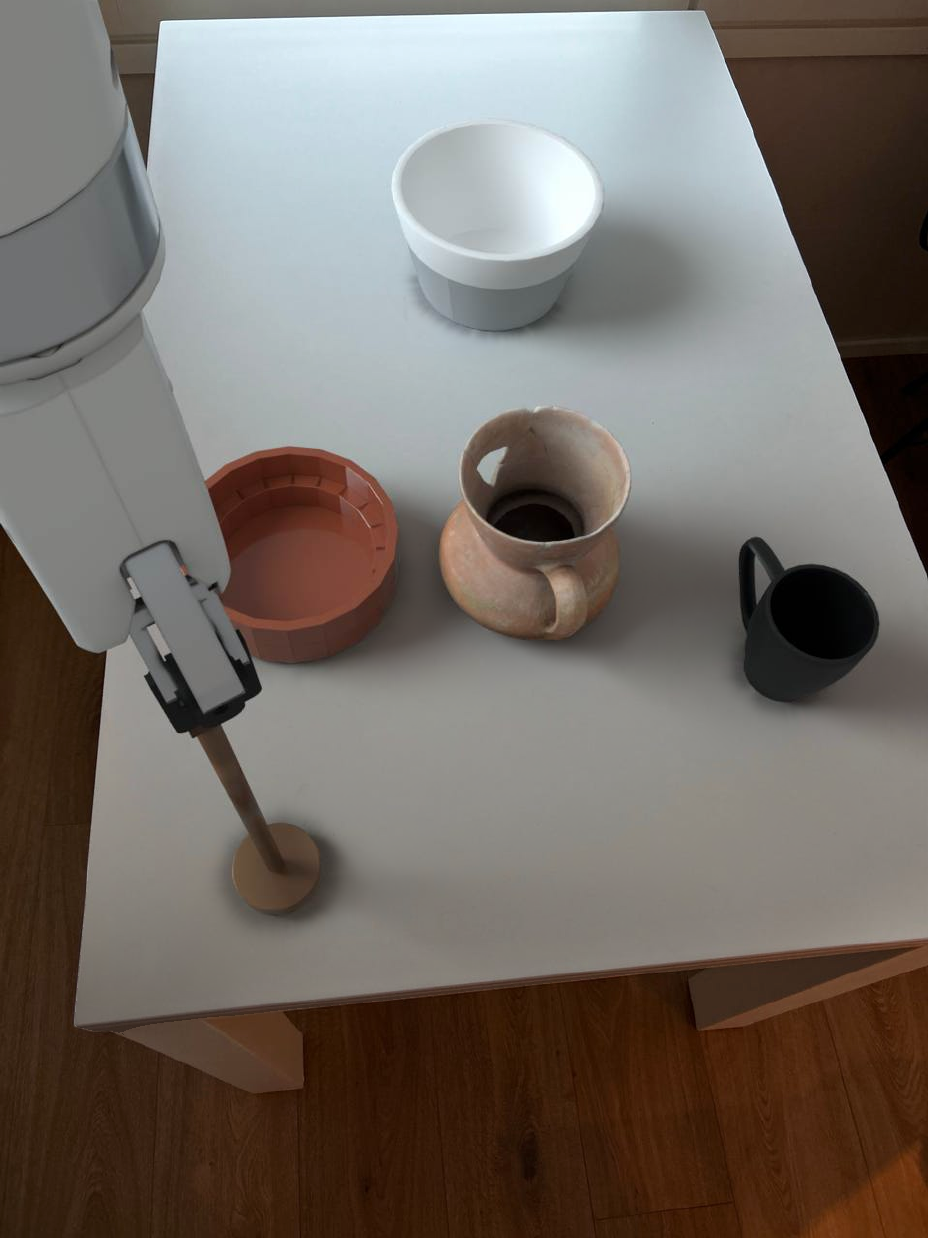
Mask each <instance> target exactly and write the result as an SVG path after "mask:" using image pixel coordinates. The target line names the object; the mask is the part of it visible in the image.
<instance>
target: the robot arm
mask: <svg viewBox="0 0 928 1238" xmlns="http://www.w3.org/2000/svg"><path fill="white" fill-rule="evenodd" d="M157 206H158V205H157V204H156V200H155V196H154V192H153V189H152V186H151V182H150V178H149V175H148V172H147V168H146V165H145V162H144V158H143V154H142V151H141V147H140V143H139V140H138V137H137V133H136V130H135V126H134V123H133V118H132V116H131V112H130V108H129V105H128V101H127V98H126V95H125V93H124V89H123V85H122V82H121V77H120V74H119V69H118V66H117V62H116V58H115V55H114V51H113V48H112V44H111V41H110V37H109V34H108V31H107V28H106V25H105V21H104V18H103V14H102V11H101V7H100V4H99V1H98V0H0V525H1V526H2V528H3V529H4V531H5V532H6V534H7V536H8V537H9V539H10V540H11V542H12V544H13V545H14V547H15V548H16V550H17V551H18V552H19V554H20V556H21V557H22V559H23V561H24V562H25V564H26V566H28V568H29V570H30V571H31V573H32V574H33V576H34V577H35V579H36V581H37V582H38V584H39V586H40V587H41V588H42V591H43V592H44V593H45V595H46V597H47V598H48V600H49V601H50V603H51V605H52V606H53V608H54V609H55V611H56V613H57V615H58V616H59V618H60V619H61V621H62V623H63V624H64V626H65V628H66V629H67V631H68V632H69V634H70V636H71V637H72V639H73V641H74V642H75V644H76V646H78V647H79V648H81V649H82V650H85V651H88V652H90V653H94V654H95V653H96V654H100V653H103V652H106V651H108V650H110V649H113V648H116V647H118V646H120V645H124V644H125V643H126V642H127V641H128V639H129V637H130V639H131V640H132V643H133V644H134V646H135V647H136V649H137V652H138V653H139V655H140V656H141V659H142V661H143V662H144V664H145V666H146V668H147V670H148V672H147V673H146V674H144V675H143V678H144V680H145V681H146V683H147V685H148V688H149V689H150V691H151V693H152V694H153V696H154V697H155V699H156V701H157V702H158V704H159V706H160V707H161V709H162V711H163V713H164V714H165V716H166V718H167V719H168V721H169V723H170V724H171V726H172V728H173V729H174V731H175V732H176V733H177V734H181V735H182V734H185V733H189V732H188V731H190V730H192V729H194V728H196V727H198V726H200V725H201V727H203V728H213V727H216V726H218V725H222V724H225V723H226V722H228V721H230V720H232V719H234V718H236V717H238V715H240V714H241V713H242V712H243V711H244V709H245V707H246V703H247V701H250V700H252V699H253V698H256V697H257V696H259V694H260V693H261V692H262V690H263V687H262V683H261V681H260V677H259V675H258V672H257V669H256V666H255V664H254V661H253V658H252V656H251V655H250V652H249V649H248V647H247V644H246V641H245V639H244V637H243V636H242V634H241V632H240V630H239V629H237V630H235V629H234V627H233V625H232V623H231V621H230V619H229V617H228V615H227V613H226V611H225V609H224V607H223V605H222V603H221V601H220V599H219V597H218V595H217V593H216V591H215V589H217V590H218V591H219V593H220V594H222V593H223V592H224V590H225V589H226V586H227V584H228V581H229V578H230V573H231V568H230V562H229V557H228V553H227V549H226V546H225V542H224V539H223V535H222V532H221V529H220V526H219V522H218V519H217V516H216V513H215V510H214V507H213V504H212V501H211V498H210V495H209V492H208V489H207V486H206V483H205V478H204V474H203V471H202V469H201V466H200V463H199V460H198V457H197V455H196V451H195V449H194V447H193V444H192V441H191V438H190V435H189V432H188V429H187V427H186V424H185V421H184V419H183V416H182V413H181V411H180V408H179V405H178V403H177V399H176V397H175V394H174V386H173V384H172V383H173V382H172V381H171V379H170V378H169V377H168V375H167V372H166V369H165V367H164V363H163V361H162V359H161V356H160V354H159V350H158V348H157V345H156V343H155V340H154V337H153V333H152V332H151V330H150V326H149V324H148V321H147V319H146V315H145V314H144V311H143V309H144V308H145V307H146V305H147V304H148V303H149V302H150V300H151V299H152V296H153V294H154V293H155V290H156V288H157V286H158V285H159V282H160V281H161V276H162V273H163V269H164V266H165V261H166V252H167V251H166V237H165V236H166V235H165V233H164V227H163V224H162V220H161V217H160V214H159V210H158V209H159V208H158V207H157ZM182 565H184V567H185V569H186V571H187V573H188V574H187V575H184V574H183V572H182V570H181V568H180V566H182ZM129 578H130V579H131V580H132V583H133V584H134V586H135V588H136V590H137V592H138V594H139V595H140V596H139V597H137V598H135V597H134V596H133V593H132V592H131V590H132V589H133V588H132V586H131V584H130V582H129V580H128V579H129ZM199 603H200V604H199ZM200 605H201V606H200ZM201 607H202V608H201ZM202 609H203V610H202ZM153 625H155V626H156V627H157V629H158V631H159V633H160V635H161V637H162V638H163V641H164V642H165V644H166V647H167V648H168V650H169V652H168V653H167V654H165V655H162V654H161V652H160V650H159V648H158V646H157V644H156V642H155V641H154V639H153V637H152V635H151V633H150V631H149V630H148V628H149V627H151V626H153Z"/></svg>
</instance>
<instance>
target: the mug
mask: <svg viewBox="0 0 928 1238" xmlns="http://www.w3.org/2000/svg"><path fill="white" fill-rule="evenodd" d="M756 558H757V560H758V561H759V563H760V564H761V566H762V568H763V569H764V571H765V573H766V575H767V576H768V578H769V580H770V583H769V584H768V586H767V588H766V589H765V590H764V592H763V593H762V595H761V596H760V598H759V600H758V602H757V593H756V591H757V590H756V569H755V568H756ZM738 586H739V588H738V590H739V605H740V614H741V621H742V625H743V628H744V631H745V634H746V635H745V640H744V651H743V652H744V653H743V654H744V658H743V671H744V672H743V673H744V674H745V677H746V679H747V681H748V683H749V684H750V686H751V687H752V688H753V689H754V690H755V691H756V692H757V693H759V694H760V695H761V696H763V697H765V698H767V699H770V700H772V701H776V702H784V703H786V702H793V701H796V700H799V699H801V698H803V697H807V696H810V695H813V694H815V693H818V692H821V691H823V690H825V689H827V688H828V687H830V686H832V685H834V684H835V683H837V682H838V681H840V680H841V679H843V678H844V677H846V676H847V675H848V674H850V672H852V671H853V669H854V668H855V667H856V666H857V665H858V664H859V663H860V662H861V661H863V659H864V658H865V657H866V656H867V655H868V654H869V652H870V651H871V650H872V649H873V648H874V646H875V644H876V642H877V640H878V637H879V631H880V617H879V612H878V609H877V606H876V603H875V601H874V599H873V598H872V596H871V595H870V594H869V592H868V591H867V590H866V589H865V587H864V586H863V585H862V584H861V583H860V582H859V581H857V580H856V579H855V578H853V577H852V576H851V575H849V574H848V573H846V572H843V571H841V570H839V569H837V568H836V567H831V566H828V565H825V564H818V563H816V564H815V563H805V564H798V565H794V566H791V567H789V568H786V569H785V568H784V566H783V564H782V562H781V560H780V559H779V558H778V556H777V554H776V553H775V551H774V550H773V549H772V547H771V546H770V544H768V543H767V542H766V540H765V539H764V538H762V537H759V536H753V537H750V538H748V539H746V541H745V542H744V543H742V545H741V546H740V548H739V553H738Z"/></svg>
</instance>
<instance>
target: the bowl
mask: <svg viewBox="0 0 928 1238" xmlns="http://www.w3.org/2000/svg"><path fill="white" fill-rule="evenodd" d="M390 188H391V189H390V190H391V195H392V200H393V204H394V209H395V211H396V214H397V217H398V220H399V223H400V227H401V230H402V233H403V236H404V239H405V241H406V245H407V249H408V251H409V255H410V258H411V260H412V264H413V267H414V270H415V273H416V277H417V279H418V280H417V281H418V283H419V286H420V289H421V291H422V293H423V295H424V297H425V299H426V301H427V302H428V303H429V304H430V306H431V307H432V309H434V310H435V311H436V312H438V313H439V314H440V315H441V316H443V317H444V318H446V319H448V320H449V321H451V322H453V323H455V324H459V325H461V326H464V327H466V328H471V329H474V330H475V329H476V330H480V331H494V332H496V331H510V330H513V329H518V328H522V327H525V326H527V325H530V324H532V323H534V322H536V321H537V320H539V319H541V318H542V317H544V316H545V315H546V314H547V313H548V312H549V311H550V310H551V309H552V308H553V306H554V305H555V303H556V301H557V299H558V298H559V297H560V295H561V293H562V290H563V288H564V287H565V284H566V283H567V281H568V279H569V277H570V276H571V273H572V271H573V269H574V268H575V266H576V264H577V262H578V259H579V258H580V256H581V254H582V253H583V251H584V249H585V247H586V245H587V243H588V241H589V240H590V237H591V236H592V235H593V232H594V230H595V228H596V226H597V224H598V223H599V221H600V218H601V217H602V213H603V210H604V206H605V187H604V184H603V181H602V178H601V175H600V172H599V171H598V169H597V168H596V166H595V164H594V163H593V160H592V159H591V158H589V156H588V155H587V154H586V153H585V152H584V151H583V150H582V149H581V148H580V147H578V146H577V145H576V144H574V143H573V142H571V141H570V140H568V139H567V138H566V137H564V136H562V135H559V134H558V133H556V132H554V131H552V130H550V129H547V128H545V127H542V126H539V125H536V124H532V123H529V122H524V121H519V120H514V119H505V118H475V119H474V118H473V119H472V118H471V119H468V120H461V121H456V122H452V123H449V124H446V125H443V126H440V127H437V128H435V129H433V130H430V131H429V132H427V133H426V134H423V135H422V136H420V137H419V138H418V139H416V140H415V141H414V142H413V143H411V144H410V145H409V146H408V147H407V148H406V149H405V151H404V152H402V155H400V157H399V158H398V161H397V163H396V166H395V167H394V170H393V172H392V177H391V185H390Z"/></svg>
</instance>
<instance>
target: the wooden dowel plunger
mask: <svg viewBox="0 0 928 1238" xmlns="http://www.w3.org/2000/svg"><path fill="white" fill-rule="evenodd" d="M187 733H188V734H189V736H190V737H191V739H195V738H197V740H198V742H199V744H200V745H201V747H202V749H203V751H204V753H205V755H206V757H207V759H208V761H209V762H210V764H211V766H212V768H213V770H214V771H215V774H216V775H217V777H218V779H219V781H220V783H221V785H222V787H223V788H224V790H225V793H226V794H227V796H228V798H229V800H230V802H231V803H232V805H233V807H234V808H235V811H236V813H237V815H238V816H239V818H240V820H241V823H242V824H243V825H244V828H245V829H246V832H247V835H246V836H245V837H244V838H243V840H241V842H240V844H239V845H238V847H237V848H236V850H235V853H234V856H233V859H232V864H231V877H232V883H233V885H234V887H235V890H236V891H237V893H238V894H239V896H240V897H241V899H242V900H243V901H244V903H246V904H247V906H248V907H250V908H251V909H253V910H254V911H256V912H258V913H262V914H265V915H269V916H280V915H286V914H289V913H290V914H291V913H293V912H295V911H296V910H299V909H300V908H302V907H303V906H304V905H306V904H307V903H308V902H309V901H310V900H311V899H312V898H313V896H314V895H315V893H316V892H317V890H318V888H319V885H320V883H321V880H322V876H323V862H322V858H321V854H320V850H319V848H318V846H317V844H316V842H315V840H314V839H313V838H312V836H311V835H310V834H309V833H308V832H306V830H304V829H302V828H301V827H298V826H297V825H294V824H292V823H287V822H276V823H275V822H273V823H267V821H266V818H265V817H264V814H263V812H262V810H261V808H260V806H259V803H258V801H257V799H256V796H255V795H254V792H253V791H252V788H251V785H250V784H249V781H248V780H247V777H246V775H245V773H244V771H243V769H242V766H241V764H240V762H239V759H238V757H237V756H236V753H235V751H234V749H233V748H232V745H231V742H230V741H229V739H228V736H227V734H226V731H225V730H224V727H223V726H222V724H221V725H218V726H216V727H213V728H203V727H201V725H200V726H198V727H196V728H194V729H192V730H190V731H188V732H187Z"/></svg>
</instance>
